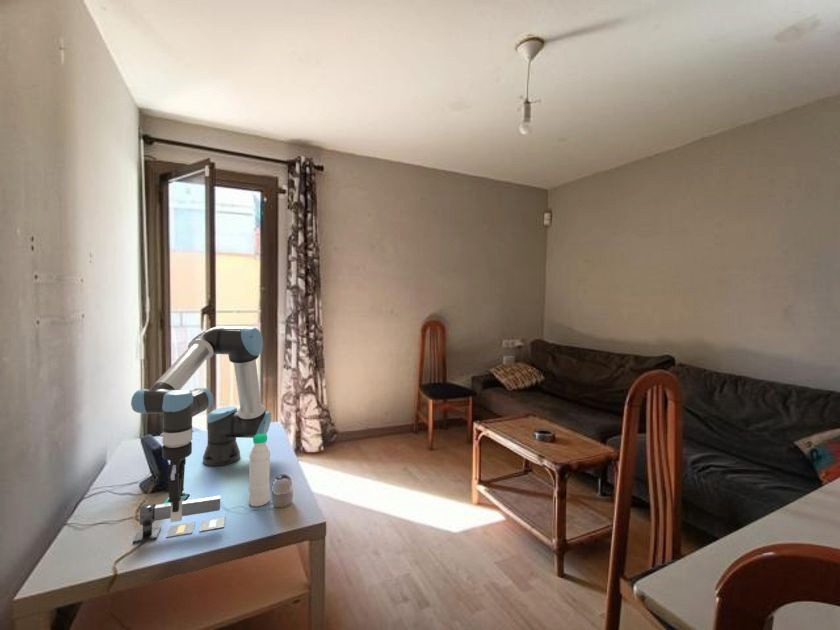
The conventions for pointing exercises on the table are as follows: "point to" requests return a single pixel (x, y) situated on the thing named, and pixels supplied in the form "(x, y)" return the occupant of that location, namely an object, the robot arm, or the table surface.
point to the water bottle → (259, 471)
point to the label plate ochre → (180, 529)
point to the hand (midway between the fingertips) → (176, 520)
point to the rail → (189, 507)
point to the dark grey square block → (147, 534)
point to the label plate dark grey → (212, 524)
